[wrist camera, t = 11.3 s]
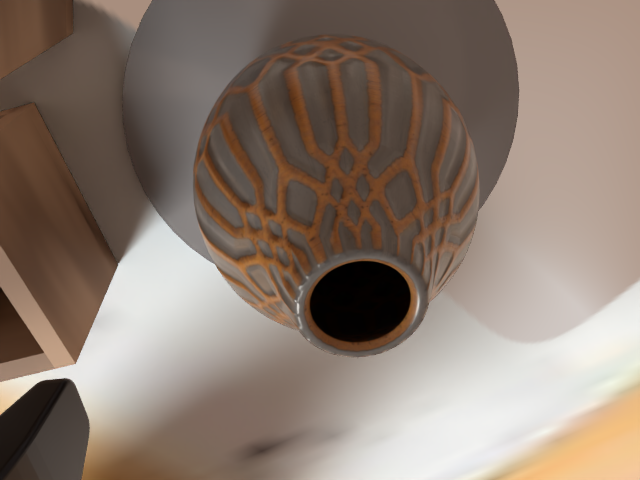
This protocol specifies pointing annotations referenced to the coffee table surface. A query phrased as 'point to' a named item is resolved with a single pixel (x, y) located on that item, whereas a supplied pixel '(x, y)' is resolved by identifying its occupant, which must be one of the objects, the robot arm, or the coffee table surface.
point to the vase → (337, 190)
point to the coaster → (284, 26)
